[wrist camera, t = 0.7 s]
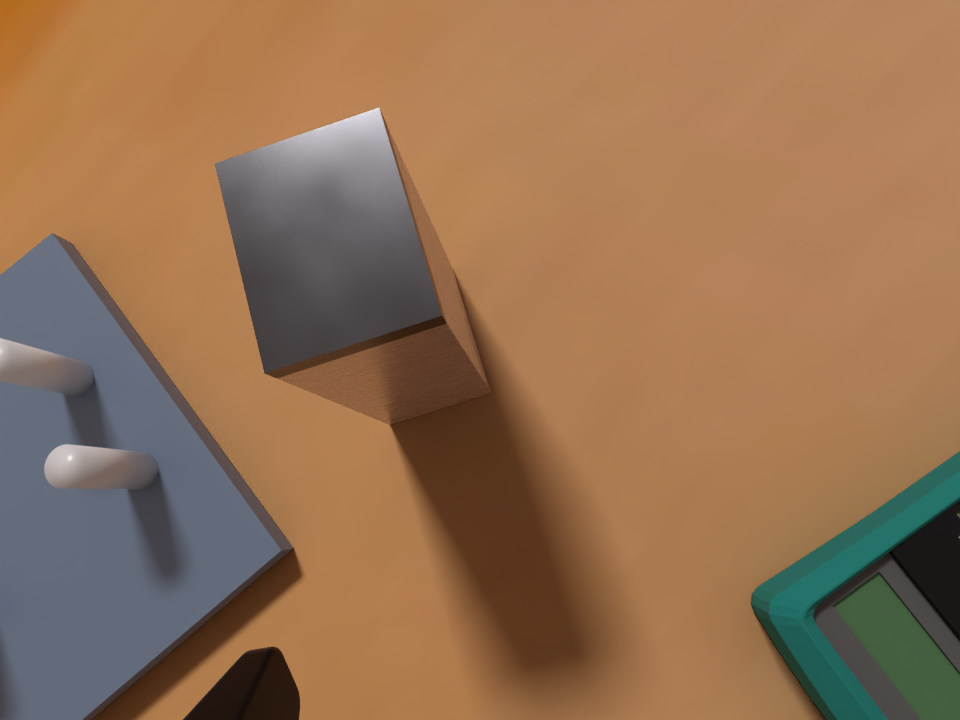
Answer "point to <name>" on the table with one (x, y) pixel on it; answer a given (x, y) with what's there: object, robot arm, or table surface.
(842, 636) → the digital multimeter
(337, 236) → the plate
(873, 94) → the table surface
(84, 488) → the grey pegged base
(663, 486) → the table surface
